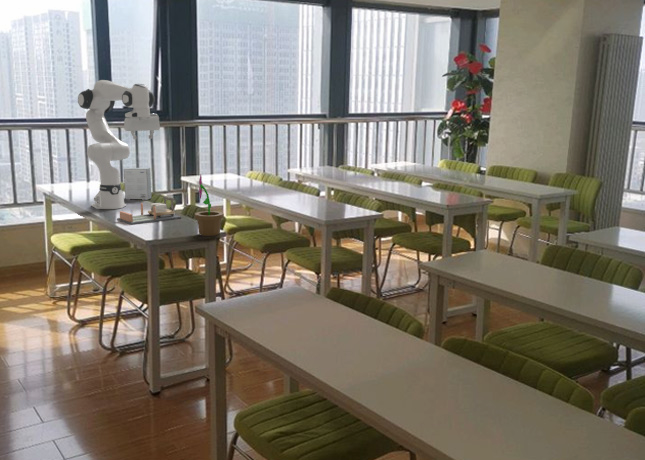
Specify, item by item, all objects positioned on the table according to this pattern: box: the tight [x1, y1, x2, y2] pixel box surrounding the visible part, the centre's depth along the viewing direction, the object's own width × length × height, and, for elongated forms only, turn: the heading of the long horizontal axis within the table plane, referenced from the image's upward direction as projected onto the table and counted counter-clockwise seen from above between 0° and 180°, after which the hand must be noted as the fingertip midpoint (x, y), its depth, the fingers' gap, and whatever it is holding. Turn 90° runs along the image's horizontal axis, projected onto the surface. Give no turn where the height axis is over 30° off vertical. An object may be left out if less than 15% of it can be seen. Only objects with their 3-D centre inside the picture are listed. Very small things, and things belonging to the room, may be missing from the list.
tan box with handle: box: [147, 195, 176, 217], centre depth 395 cm, size 10×11×10 cm
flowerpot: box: [194, 173, 225, 237], centre depth 353 cm, size 14×14×30 cm
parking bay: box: [119, 202, 156, 222], centre depth 386 cm, size 16×15×7 cm
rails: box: [132, 213, 176, 221], centre depth 392 cm, size 8×28×1 cm, turn 132°
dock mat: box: [116, 214, 182, 226], centre depth 392 cm, size 17×30×1 cm, turn 132°
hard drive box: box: [123, 167, 152, 201], centre depth 457 cm, size 16×8×20 cm, turn 84°
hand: (142, 138), depth 395 cm, fingers open, 8 cm apart
